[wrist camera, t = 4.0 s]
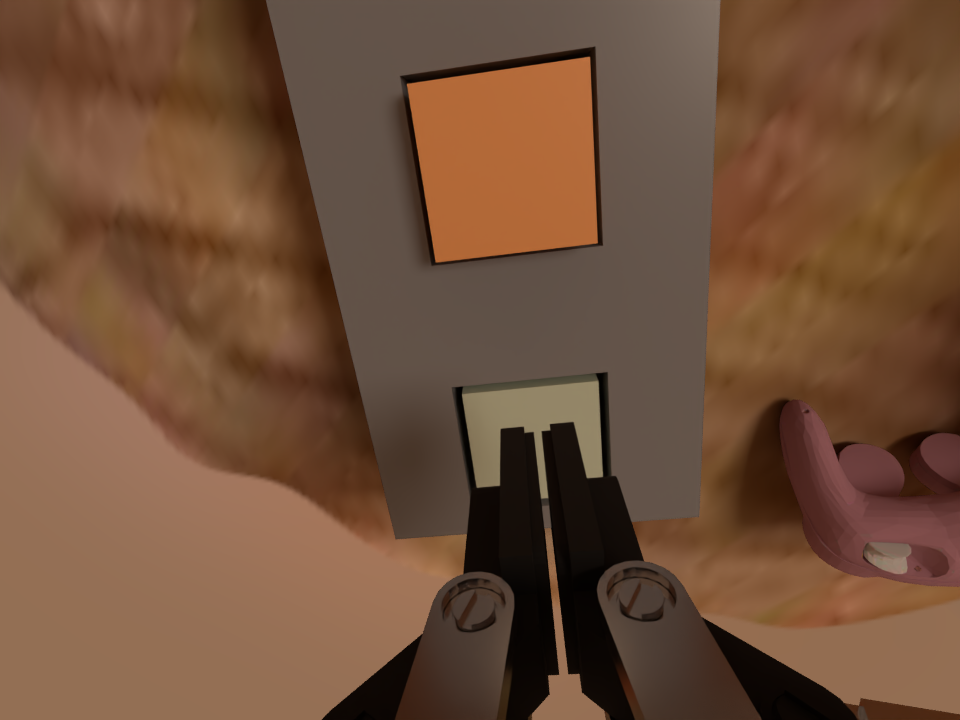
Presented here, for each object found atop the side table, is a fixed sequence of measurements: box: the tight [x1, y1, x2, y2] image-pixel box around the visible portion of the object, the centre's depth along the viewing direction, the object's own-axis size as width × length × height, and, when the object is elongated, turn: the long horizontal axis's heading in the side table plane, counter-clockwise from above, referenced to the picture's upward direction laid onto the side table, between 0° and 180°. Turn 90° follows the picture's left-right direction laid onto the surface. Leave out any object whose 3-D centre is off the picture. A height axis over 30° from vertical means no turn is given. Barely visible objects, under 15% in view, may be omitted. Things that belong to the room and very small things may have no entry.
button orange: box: [407, 57, 598, 262], centre depth 15 cm, size 4×4×3 cm
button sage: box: [462, 373, 603, 499], centre depth 19 cm, size 4×4×3 cm
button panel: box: [266, 0, 720, 539], centre depth 17 cm, size 25×11×4 cm, turn 7°
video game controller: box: [779, 400, 960, 587], centre depth 20 cm, size 10×5×7 cm, turn 100°
